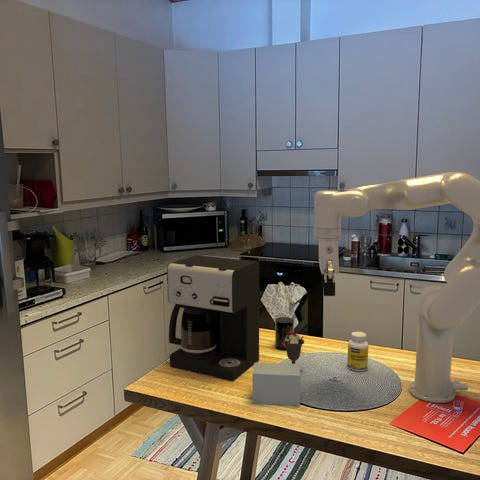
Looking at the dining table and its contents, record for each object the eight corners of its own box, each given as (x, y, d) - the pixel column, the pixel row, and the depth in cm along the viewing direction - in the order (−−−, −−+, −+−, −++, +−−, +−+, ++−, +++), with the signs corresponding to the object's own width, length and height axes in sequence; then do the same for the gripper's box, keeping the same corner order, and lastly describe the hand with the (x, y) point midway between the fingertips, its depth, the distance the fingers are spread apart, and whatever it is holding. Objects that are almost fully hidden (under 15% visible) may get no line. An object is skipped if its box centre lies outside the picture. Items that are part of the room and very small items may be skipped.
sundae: (279, 368, 159) (279, 324, 156) (297, 365, 161) (298, 321, 159) (288, 376, 152) (288, 330, 150) (307, 373, 155) (308, 328, 152)
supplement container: (278, 351, 173) (278, 323, 171) (272, 344, 179) (272, 317, 177) (296, 349, 174) (296, 321, 173) (289, 343, 181) (289, 316, 179)
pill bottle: (344, 369, 157) (345, 335, 155) (350, 362, 163) (351, 329, 161) (364, 373, 154) (366, 338, 152) (369, 366, 160) (370, 332, 158)
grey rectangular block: (299, 392, 142) (299, 364, 140) (299, 405, 134) (300, 375, 133) (254, 390, 143) (254, 362, 142) (252, 403, 135) (252, 373, 134)
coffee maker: (158, 365, 161) (155, 262, 156) (190, 345, 178) (188, 252, 173) (232, 382, 148) (231, 271, 143) (259, 359, 165) (259, 259, 160)
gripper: (344, 237, 130) (344, 299, 133) (337, 229, 147) (337, 284, 150) (316, 238, 131) (316, 299, 134) (312, 229, 148) (312, 284, 151)
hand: (327, 291), depth 142 cm, fingers open, 9 cm apart
